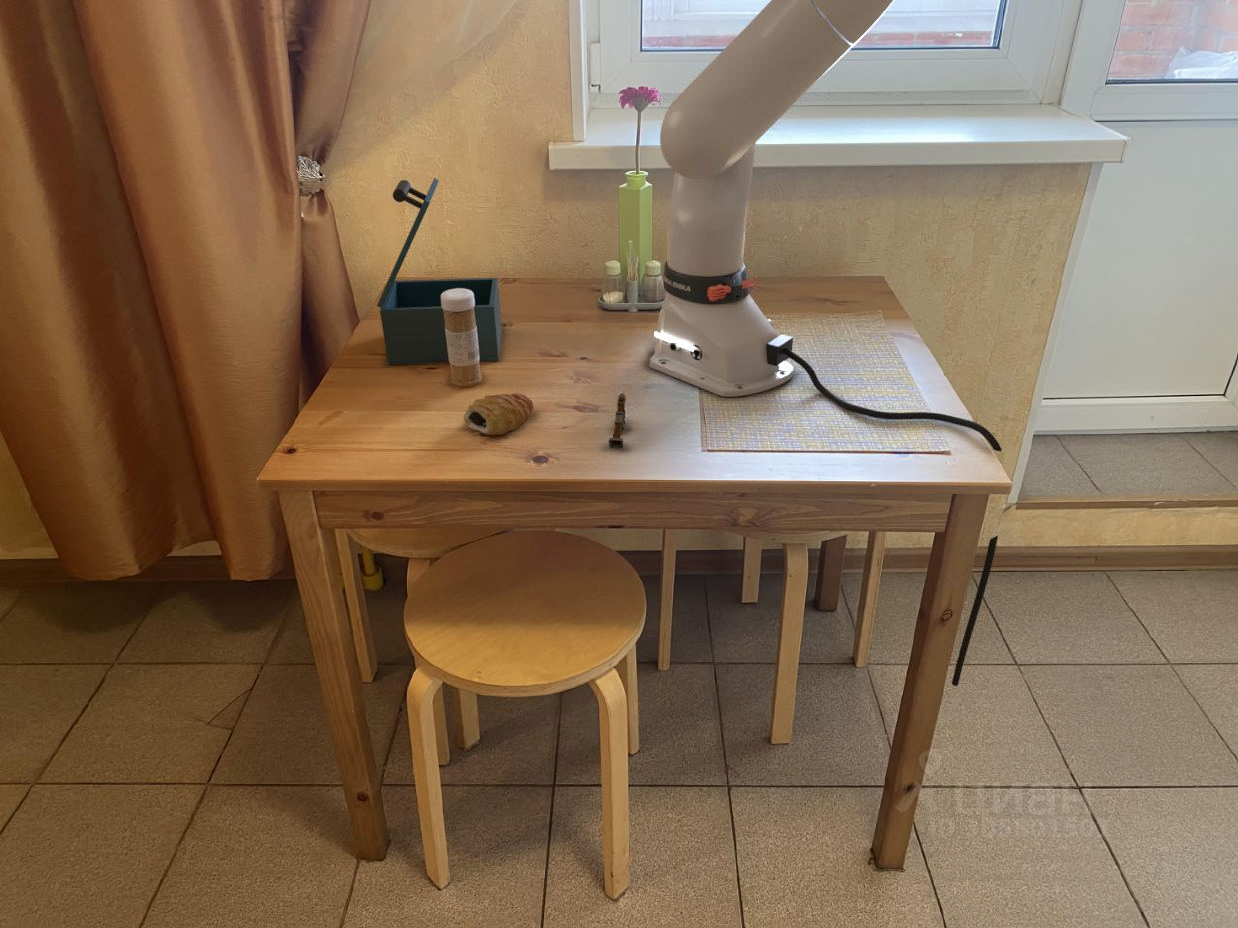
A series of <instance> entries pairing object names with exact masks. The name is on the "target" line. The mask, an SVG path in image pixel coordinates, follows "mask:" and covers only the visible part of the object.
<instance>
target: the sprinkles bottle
mask: <svg viewBox="0 0 1238 928" xmlns="http://www.w3.org/2000/svg"><path fill="white" fill-rule="evenodd" d="M441 305H442V308H443V311H444V318H445V333H446V341H447V349H448V357H449V362H450V363H449V369H450V382H451V383H452V384H453V385H455V386H457V387H472V386H474V385H477V384H478V383H480V382H481V381H482V378H483V375H482V373H481V365H480V362H479V360H480V357H479V346H478V336H477V327H476V322H475V313H474V306H475V300H474V293H473V292H472V291H471V290H468V289H463V288H457V289H450V290H447V291H445V292H443V293H442V294H441Z"/></svg>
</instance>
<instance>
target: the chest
mask: <svg viewBox="0 0 1238 928" xmlns="http://www.w3.org/2000/svg"><path fill="white" fill-rule="evenodd" d="M457 288H463V289H468V290H471V291H472V292H473V293H474V300H475V306H474V313H475V322H476V327H477V336H478V346H479V357H480V360H479V363H483V362H485V363H487V362H500V361H499V360H500V351H501V343H502V342H501V341H502V333H503V326H502V325H503V324H502V313H501V299H500V298H501V297H500V287H499V277H477V278H476V277H474V278H470V277H469V278H447V279H446V278H441V279H437V278H436V279H409V280H407V279H405V280H404V279H403V280H395V281H394V283H393V285H392V287H391V289H390V292H389V294H388V296H387V298H386V300H385V303H384V305H383V307H382V308H380V309H379V314H380V320H381V327H382V334H383V340H384V346H385V352H386V360H387V365H388V366H399V365H400V366H401V365H402V366H403V365H427V364H429V365H430V364H450V362H449V357H448V349H447V341H446V333H445V318H444V311H443V308H442V305H441V294H442V293H443V292H445V291H447V290H450V289H457Z"/></svg>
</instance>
